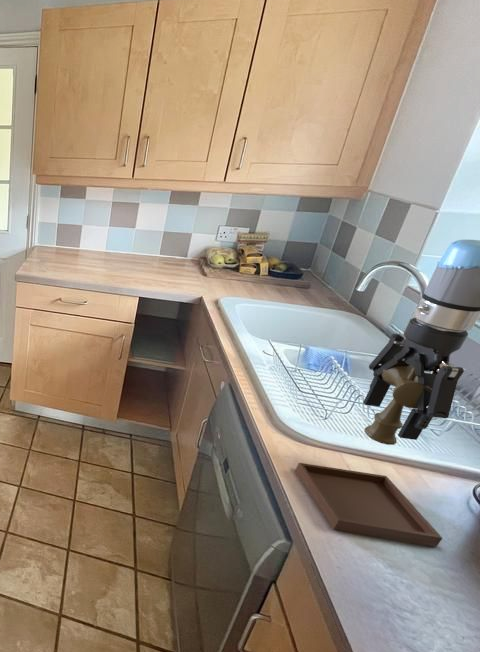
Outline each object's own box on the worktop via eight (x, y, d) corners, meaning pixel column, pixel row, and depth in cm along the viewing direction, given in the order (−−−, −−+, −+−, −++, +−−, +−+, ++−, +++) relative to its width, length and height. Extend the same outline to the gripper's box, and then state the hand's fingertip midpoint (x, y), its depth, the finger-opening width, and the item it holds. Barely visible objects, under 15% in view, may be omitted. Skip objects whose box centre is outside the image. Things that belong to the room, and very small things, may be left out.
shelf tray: (381, 484, 86) (386, 475, 85) (436, 547, 74) (443, 538, 73) (294, 471, 89) (298, 462, 88) (333, 529, 77) (338, 520, 76)
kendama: (392, 430, 90) (436, 350, 81) (403, 458, 82) (453, 373, 74) (356, 420, 93) (395, 342, 84) (364, 445, 85) (407, 363, 77)
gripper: (375, 298, 87) (335, 386, 96) (468, 352, 67) (407, 456, 76) (416, 302, 86) (372, 390, 95) (525, 357, 66) (455, 463, 75)
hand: (388, 420), depth 85 cm, fingers closed on kendama, 10 cm apart
